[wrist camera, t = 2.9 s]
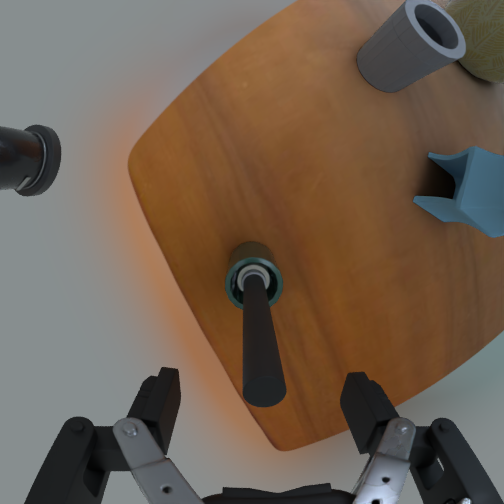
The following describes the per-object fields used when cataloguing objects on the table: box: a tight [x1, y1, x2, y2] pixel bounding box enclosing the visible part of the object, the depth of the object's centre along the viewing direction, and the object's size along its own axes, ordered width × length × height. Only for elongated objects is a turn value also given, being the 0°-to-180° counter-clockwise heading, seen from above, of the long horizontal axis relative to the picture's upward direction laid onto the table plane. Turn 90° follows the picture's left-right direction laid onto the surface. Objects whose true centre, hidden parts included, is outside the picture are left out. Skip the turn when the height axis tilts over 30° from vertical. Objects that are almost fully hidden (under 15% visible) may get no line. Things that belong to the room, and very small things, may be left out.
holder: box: [225, 242, 283, 310], centre depth 30 cm, size 5×5×8 cm
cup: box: [357, 0, 466, 92], centre depth 22 cm, size 8×8×14 cm
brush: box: [237, 263, 286, 407], centre depth 23 cm, size 3×3×22 cm
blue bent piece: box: [413, 146, 504, 238], centre depth 23 cm, size 8×8×20 cm
